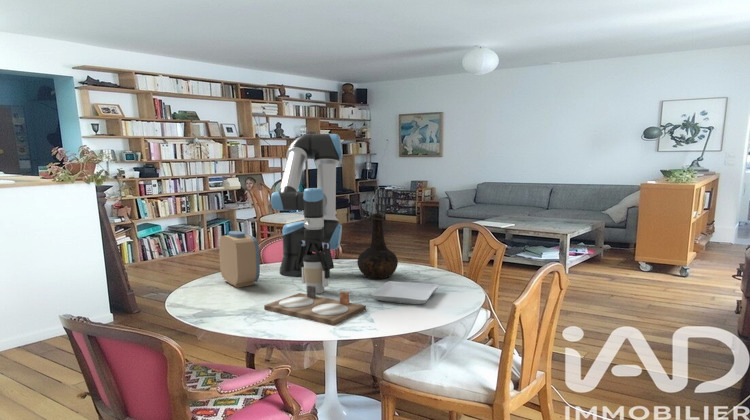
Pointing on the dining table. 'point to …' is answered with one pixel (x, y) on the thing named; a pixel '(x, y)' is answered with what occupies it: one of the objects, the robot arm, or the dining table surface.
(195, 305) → the dining table surface
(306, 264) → the coffee cup
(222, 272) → the alarm clock
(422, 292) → the salad plate
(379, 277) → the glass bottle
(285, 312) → the tag board
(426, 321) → the dining table surface
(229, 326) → the dining table surface
